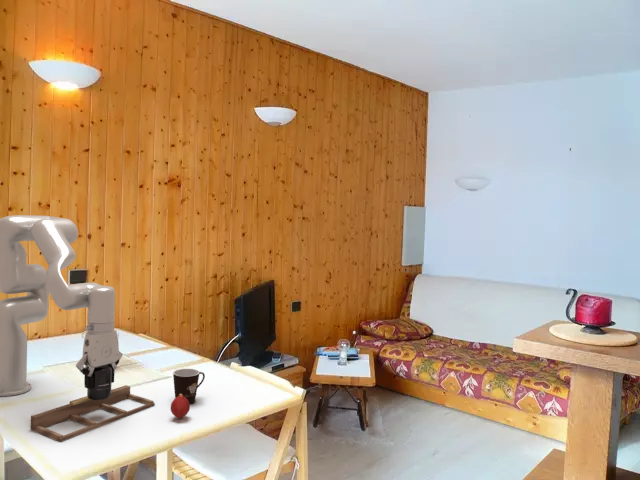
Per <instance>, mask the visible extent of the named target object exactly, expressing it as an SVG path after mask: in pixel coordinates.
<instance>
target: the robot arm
mask: <svg viewBox="0 0 640 480" xmlns="http://www.w3.org/2000/svg"><path fill="white" fill-rule="evenodd" d="M78 229H79V228H78V227H77V225H76V224H75V223H74V221H72V220H71V219H70V218H63V217H57V216H49V215H28V214H26V215H25V214H19V215H18V214H17V215H7V216H3V217H2V218H0V292H1V293H2V294H6V295H15V294H24V293H27V295H24V296H23V295H22V296H14V297H7V298H3V299H0V397H10V396H17V395H20V394H25V393H27V392H28V391H29V392H30V390H31V389H32V385H33V384H32V383H31V382H29V381H27V377H28V375H27V374H28V368H27V367H28V336H27V334H26V332H25V330H24V329H23V328H22V326H23V325H28V324H33V323H37V322H41V321H43V320H44V319H46V318H47V316H48V313H49V305H50V304H49V303H50V302H49V301H50V298H49V297H51V298H52V300H53V302H54V303H55V304H56V306H57V307H58V308H59V309H61V310H64V311H72V310H79V309H85V308H87V325H86V326H85V327H84V331H86V332H85V336H84V340H83V347H82V357H81V358H80V359H79V360H78V362H77V363H76V364H75V368H77V370H79V372H80V373H81V374H82V375H83V376H84V384H83V385H84V388H85V389H87V388H88V389H93V384H94V376H92V373H93V371H94V368H96V367H100V366H104V365H107V364H108V365H109V366H110V367H111V368H112V383H114V382H115V370H117V366H118V365H119V363H120V360H121V359H122V357H123V353H122V352H121V351H120V348H119V347H120V346H119V338H118V336H119V335H118V332H117V330H116V329H115V315H116V313H115V312H116V311H115V308H116V291H115V288H114V287H113V286H109V285H101V284H99V283H96V282H83V283H75V284H67V281H66V280H65V279H64V277H63V275H62V272H61V271H63V270H64V269H65V268H67V267H68V266H70V265H71V264H72V263H73V262H74V261H75V259H76V257H77V255H76V252H75V250H74V248H73V247H72V245H71V244H72V243H74V242H75V241H77V239H78V236H79V230H78ZM25 241H26V242H27V241H28V242H31V241H32V242H33V241H34V243H35V245H36V246H37V249H38V250H39V251H40V253H41V254H42V256H43V258H44V260H45V261H46V263H47V264H48V267H47V269H46V268H45V267H44V266H43V265H41V264H37V263H32V264H31V263H29V264H28V263H27V262H28V261H27V251H26V248H25V247H24V245H23V244H22V243H21V242H25ZM49 295H50V296H49ZM89 368H90V369H89ZM88 370H89V371H88Z"/></svg>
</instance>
